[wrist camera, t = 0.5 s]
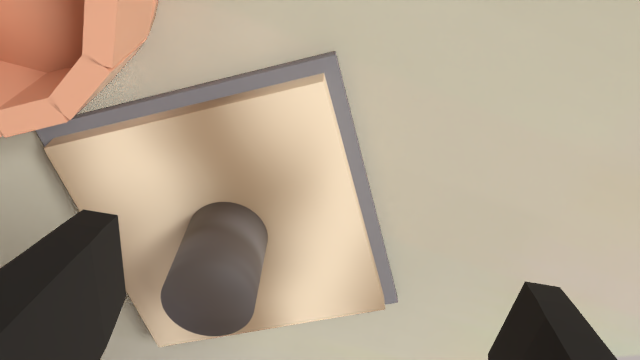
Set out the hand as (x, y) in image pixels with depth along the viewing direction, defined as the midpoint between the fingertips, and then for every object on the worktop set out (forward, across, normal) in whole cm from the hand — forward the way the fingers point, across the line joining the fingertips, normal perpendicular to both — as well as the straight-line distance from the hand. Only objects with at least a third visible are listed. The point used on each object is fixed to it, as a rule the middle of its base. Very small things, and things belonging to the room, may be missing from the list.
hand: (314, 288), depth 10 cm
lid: (+9, +3, +7) cm, 12 cm away
